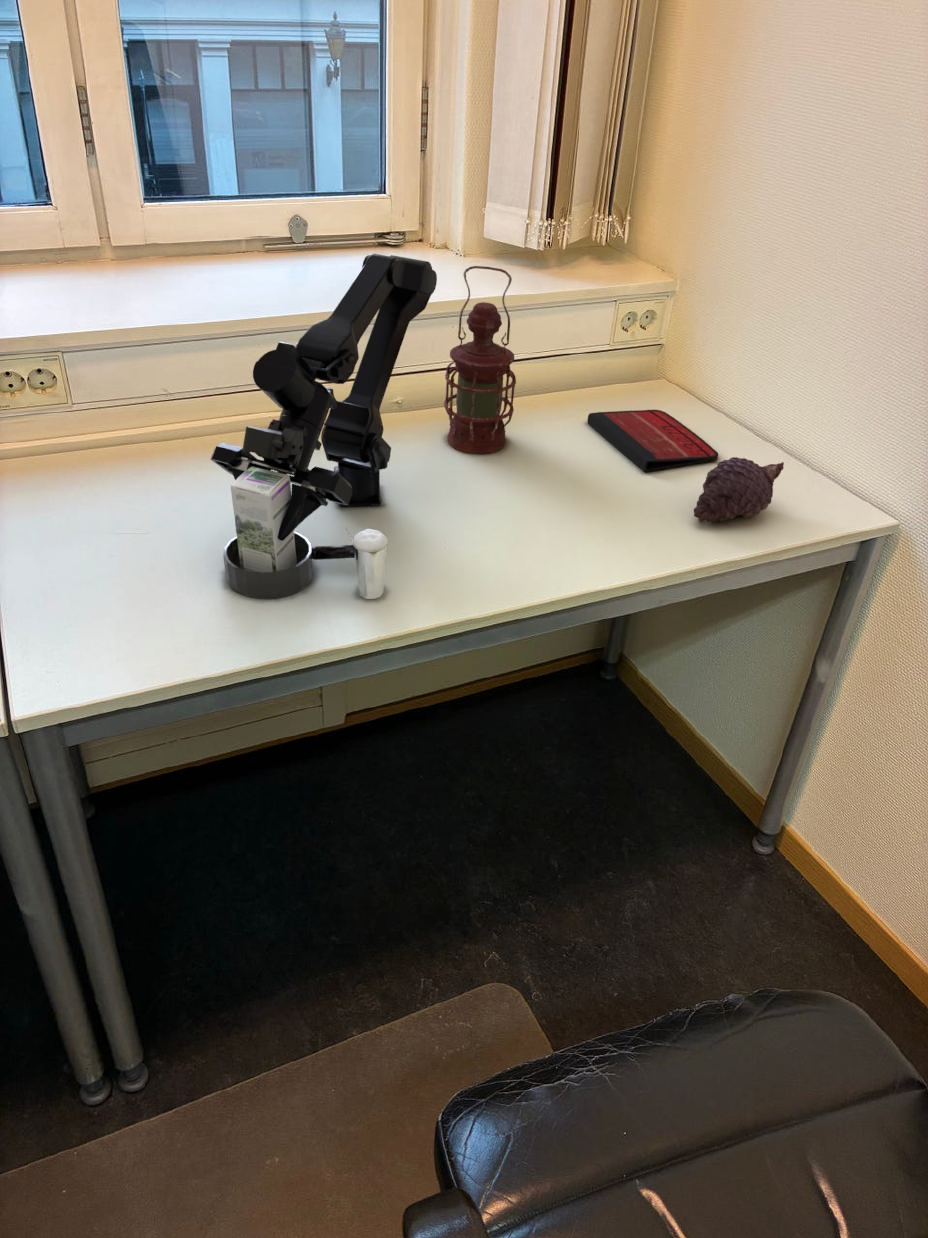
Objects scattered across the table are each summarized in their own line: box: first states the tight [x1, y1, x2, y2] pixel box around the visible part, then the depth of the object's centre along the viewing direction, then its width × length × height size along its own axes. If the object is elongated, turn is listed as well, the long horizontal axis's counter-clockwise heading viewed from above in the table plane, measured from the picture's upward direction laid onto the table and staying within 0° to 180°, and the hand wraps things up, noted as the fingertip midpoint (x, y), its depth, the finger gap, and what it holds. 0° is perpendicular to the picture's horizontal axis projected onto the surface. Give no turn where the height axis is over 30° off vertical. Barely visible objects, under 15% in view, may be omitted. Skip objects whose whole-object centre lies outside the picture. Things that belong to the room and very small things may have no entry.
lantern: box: [443, 265, 517, 455], centre depth 154 cm, size 12×12×30 cm
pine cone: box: [693, 456, 785, 523], centre depth 144 cm, size 18×10×10 cm
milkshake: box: [345, 527, 389, 600], centre depth 120 cm, size 4×5×10 cm
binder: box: [586, 409, 719, 473], centre depth 166 cm, size 16×2×21 cm
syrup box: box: [230, 467, 297, 572], centre depth 121 cm, size 6×6×14 cm
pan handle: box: [312, 544, 355, 561], centre depth 125 cm, size 10×2×2 cm, turn 99°
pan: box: [222, 531, 314, 600], centre depth 125 cm, size 12×12×4 cm
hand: (259, 533), depth 120 cm, fingers closed on syrup box, 6 cm apart
